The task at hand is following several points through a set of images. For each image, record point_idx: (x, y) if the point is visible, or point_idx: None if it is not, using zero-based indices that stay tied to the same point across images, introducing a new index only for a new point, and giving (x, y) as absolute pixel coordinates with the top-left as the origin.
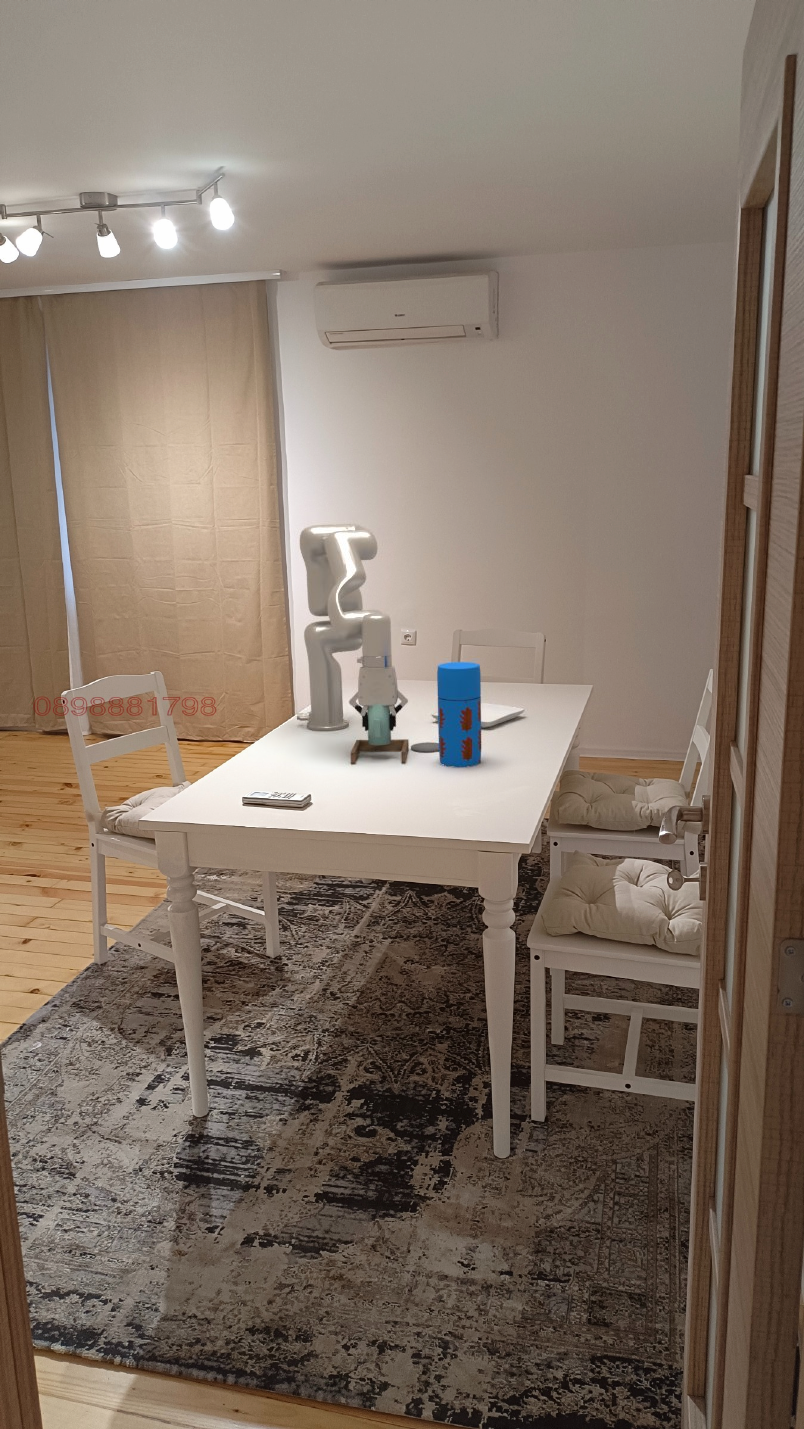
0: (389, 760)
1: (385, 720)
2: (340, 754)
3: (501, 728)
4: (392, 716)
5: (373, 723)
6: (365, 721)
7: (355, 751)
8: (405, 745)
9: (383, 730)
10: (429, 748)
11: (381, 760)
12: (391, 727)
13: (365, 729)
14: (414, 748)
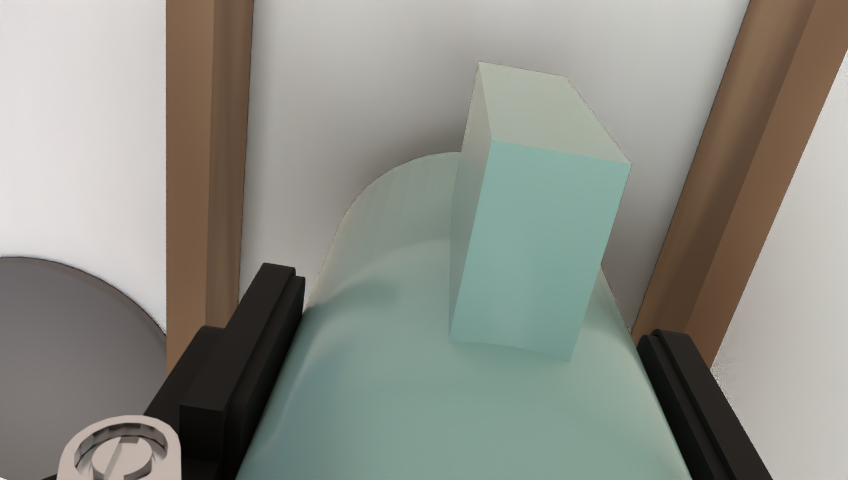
0: (382, 61)
1: (348, 330)
2: (788, 363)
3: None
4: (184, 413)
5: (587, 318)
6: (723, 425)
7: (773, 95)
8: (181, 209)
9: (410, 233)
10: (14, 326)
11: (461, 78)
12: (272, 286)
13: (682, 337)
14: (145, 351)
